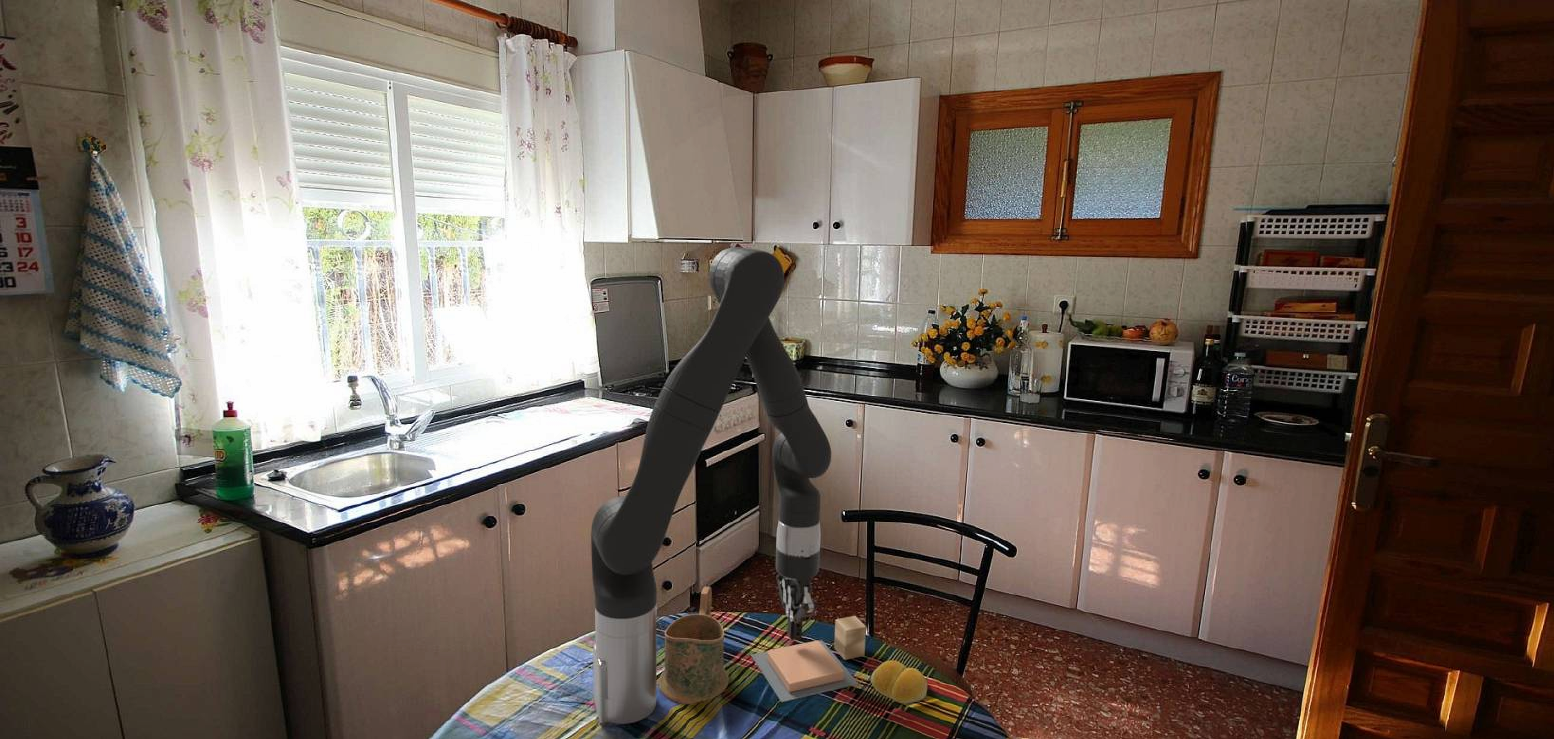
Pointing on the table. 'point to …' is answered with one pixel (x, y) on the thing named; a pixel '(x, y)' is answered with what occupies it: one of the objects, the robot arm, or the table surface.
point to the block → (850, 637)
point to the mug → (694, 656)
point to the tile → (804, 666)
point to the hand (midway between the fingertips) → (794, 637)
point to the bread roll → (899, 682)
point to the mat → (786, 695)
